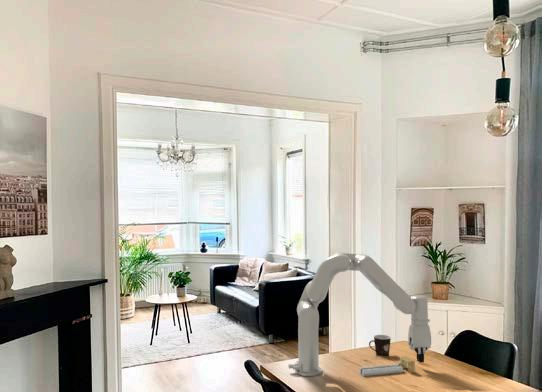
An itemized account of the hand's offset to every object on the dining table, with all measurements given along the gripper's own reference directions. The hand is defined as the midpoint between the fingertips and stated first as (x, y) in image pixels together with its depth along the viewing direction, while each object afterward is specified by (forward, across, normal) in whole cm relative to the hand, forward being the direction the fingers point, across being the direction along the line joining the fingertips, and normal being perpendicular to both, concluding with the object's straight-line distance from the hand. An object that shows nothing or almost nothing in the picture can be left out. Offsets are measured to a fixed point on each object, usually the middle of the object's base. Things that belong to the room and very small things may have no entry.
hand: (420, 361), depth 199 cm
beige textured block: (+3, +7, 0) cm, 8 cm away
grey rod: (+3, +20, -1) cm, 20 cm away
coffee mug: (+5, +8, -25) cm, 26 cm away
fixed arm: (+3, +21, +1) cm, 21 cm away
